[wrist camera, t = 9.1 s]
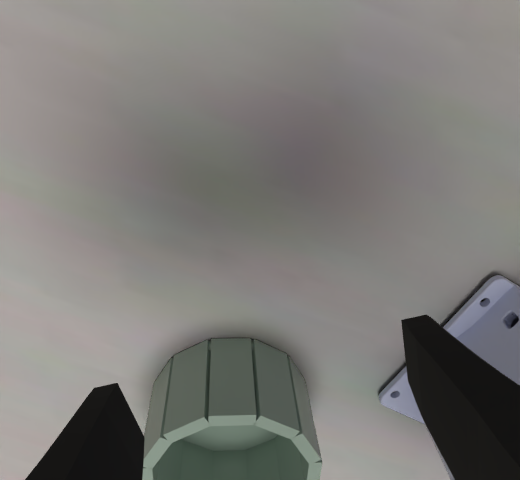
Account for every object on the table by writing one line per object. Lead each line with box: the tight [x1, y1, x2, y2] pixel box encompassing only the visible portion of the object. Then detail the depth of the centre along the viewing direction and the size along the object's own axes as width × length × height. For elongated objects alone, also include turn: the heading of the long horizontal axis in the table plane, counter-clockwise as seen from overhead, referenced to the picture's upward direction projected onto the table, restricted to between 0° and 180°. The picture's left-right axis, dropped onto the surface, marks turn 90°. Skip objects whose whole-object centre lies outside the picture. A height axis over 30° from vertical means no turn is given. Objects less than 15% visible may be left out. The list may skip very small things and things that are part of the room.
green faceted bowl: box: [142, 338, 322, 480], centre depth 24 cm, size 8×8×5 cm
